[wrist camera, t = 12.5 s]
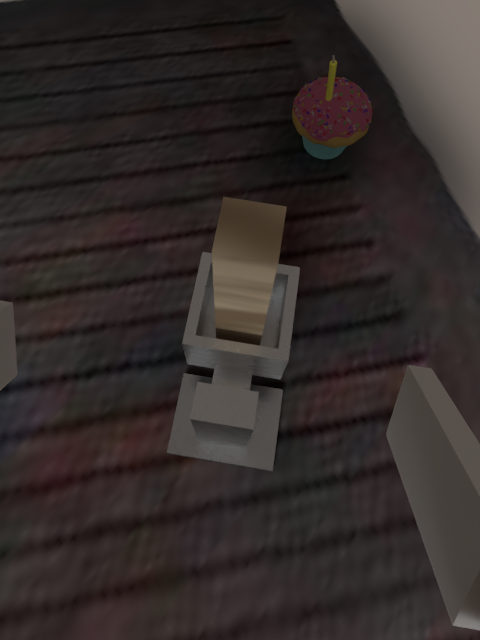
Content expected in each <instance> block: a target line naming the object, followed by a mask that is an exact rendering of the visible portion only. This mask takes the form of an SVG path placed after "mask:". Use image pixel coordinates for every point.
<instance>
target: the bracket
mask: <svg viewBox="0 0 480 640" xmlns="http://www.w3.org/2000/svg"><path fill="white" fill-rule="evenodd" d="M299 272H300V267H295V266H288V265H282V264H278V266H277V271H276V275H275V280H274V284H273V289H272V293H271V298H270V302H269V307H268V311H267V316H266V320H265V325H264V329H263V334H262V338H261V342H260V346H259V345H253V344H246V343H240V342H234V341H228V340H222V339H216V327H215V306H214V286H213V265H212V253H206V252H202V257H201V261H200V266H199V270H198V275H197V279H196V284H195V288H194V293H193V297H192V302H191V306H190V311H189V315H188V320H187V324H186V329H185V333H184V338H183V342H182V345H183V349H184V353H185V357H186V361H187V364H190V365H196V366H202V367H208V368H214V374H213V378H210V377H204V376H198V375H192V374H186V373H184V375H183V380H182V384H181V389H180V394H179V398H178V403H177V408H176V412H175V417H174V422H173V426H172V431H171V436H170V440H169V445H168V450H167V453H168V454H172V455H178V456H184V457H189V458H195V459H201V460H207V461H213V462H219V463H224V464H230V465H236V466H242V467H248V468H254V469H260V470H265V471H271V472H272V471H273V465H274V457H275V449H276V441H277V433H278V426H279V418H280V410H281V402H282V394H283V389H277V388H271V387H265V386H259V385H253V384H251V380H252V375H256V376H262V377H268V378H275V379H281V377H282V374H283V372H284V370H285V368H286V365H287V363H288V360H289V352H290V344H291V336H292V328H293V320H294V312H295V304H296V296H297V288H298V280H299Z"/></svg>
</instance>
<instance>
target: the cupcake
mask: <svg viewBox="0 0 480 640" xmlns="http://www.w3.org/2000/svg"><path fill="white" fill-rule="evenodd" d="M332 57H333V58H332V60H331V61H330V66H329V74H328V77H325V78H324V77H321V78H320V77H318V79H315V80H314V81H311V82H310V83H308V84H307V83H306V85H305V86H304V87H302V88H301V90H300V91H299V93H298V94H297V96H296V98H295V100H294V103H293V110H292V120H293V124H294V125H295V127H296V129H297V132H298V133H299V134H300V135H302V138H303V144H304V147H305V149H306V151H307V152H308V153H309V154H311V155H312V156H314V157H316V158H319V159H332V158H335V157H337V156H338V155H340V154H341V153H342V152H343V150H344V149H345V148H346V147H347V146H348V145H351V144H353V143H355V142H356V141H358V140H359V139H360V138H361V137H363V136H364V135H365V134H366V133H367V130H368V128H369V125H370V123H371V117H372V111H373V108H372V106H371V102H370V99H369V98H368V97H367V94H366V93H364V90H363V89H361V87H360V86H358V84H357V83H356V82H355V83H356V84H355V83H353V82H351V80H347V79H345V77H342V78H341V77H336V76H335V74H336V67H337V61H336V60H335V56H334V55H333V56H332Z"/></svg>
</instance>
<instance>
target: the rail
mask: <svg viewBox="0 0 480 640" xmlns="http://www.w3.org/2000/svg"><path fill="white" fill-rule="evenodd" d="M286 208H287V207H286V206H280V205H273V204H267V203H260V202H254V201H247V200H241V199H234V198H228V197H223V202H222V207H221V211H220V216H219V221H218V225H217V230H216V234H215V239H214V244H213V248H212V265H213V286H214V306H215V327H216V339H222V340H228V341H234V342H240V343H246V344H253V345H259V346H260V342H261V338H262V334H263V329H264V325H265V320H266V316H267V311H268V307H269V302H270V298H271V293H272V289H273V284H274V280H275V275H276V271H277V266H278V262H279V255H280V249H281V242H282V235H283V229H284V222H285V215H286Z"/></svg>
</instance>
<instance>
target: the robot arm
mask: <svg viewBox="0 0 480 640" xmlns="http://www.w3.org/2000/svg"><path fill="white" fill-rule="evenodd" d="M15 376H17V360H16V345H15V330H14V315H13V303H12V302H6V301H0V390H1V389H2V388H3V387H5V386H6V385H7V384H8V383H9V382H10V381H11V380H12V379H13V378H14V377H15ZM386 436H387V439H388V441H389V444H390V447H391V450H392V453H393V456H394V459H395V462H396V465H397V467H398V470H399V473H400V476H401V479H402V482H403V485H404V488H405V490H406V493H407V496H408V499H409V502H410V505H411V508H412V511H413V513H414V516H415V519H416V522H417V525H418V528H419V531H420V534H421V536H422V539H423V542H424V545H425V548H426V551H427V554H428V557H429V559H430V562H431V565H432V568H433V571H434V574H435V577H436V580H437V583H438V585H439V588H440V591H441V594H442V597H443V600H444V603H445V606H446V608H447V611H448V614H449V617H450V620H451V623H452V625H453V626H459V627H464V628H470V629H476V630H480V444H479V442H478V441H477V439H476V438H475V436H474V434H473V433H472V431H471V430H470V428H469V427H468V425H467V423H466V422H465V420H464V419H463V417H462V416H461V414H460V412H459V411H458V409H457V408H456V406H455V405H454V403H453V401H452V400H451V398H450V397H449V395H448V394H447V392H446V391H445V389H444V387H443V386H442V384H441V383H440V381H439V380H438V378H437V376H436V375H435V373H434V372H433V370H432V369H431V368H424V367H418V366H412V365H408V366H407V370H406V373H405V376H404V379H403V382H402V385H401V388H400V392H399V395H398V398H397V401H396V404H395V407H394V411H393V414H392V417H391V420H390V423H389V426H388V430H387V433H386Z"/></svg>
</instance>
